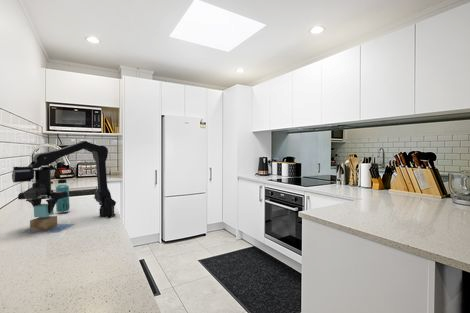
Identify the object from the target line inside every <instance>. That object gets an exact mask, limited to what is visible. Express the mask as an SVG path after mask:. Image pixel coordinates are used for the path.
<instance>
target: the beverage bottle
mask: <svg viewBox="0 0 470 313" xmlns="http://www.w3.org/2000/svg"><path fill="white" fill-rule="evenodd" d="M57 184H59V185H57V186H56V187H55V192H57V191H66V192H67V193H68V197H65V198H62V199H59V200H58V201H57V203H56V204H55V209H56V210H55V211H56V213H57V212H58V213H61V212H69V211H70V186H69V185H67V179H64V178H61V179H58V180H57Z"/></svg>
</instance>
